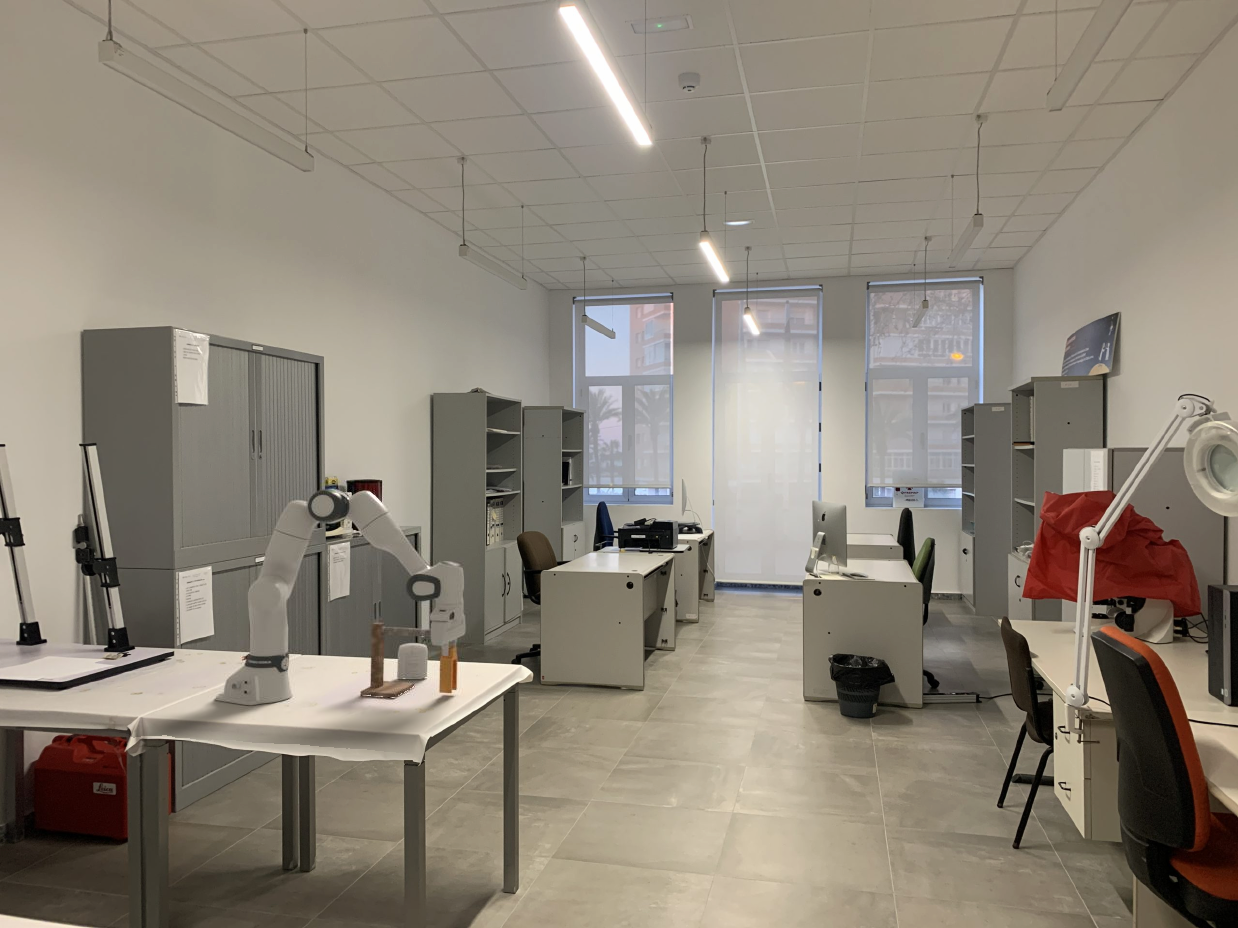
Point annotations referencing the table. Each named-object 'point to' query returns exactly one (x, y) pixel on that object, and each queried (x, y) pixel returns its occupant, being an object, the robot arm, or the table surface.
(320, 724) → the table surface
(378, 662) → the stand
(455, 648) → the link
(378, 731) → the table surface
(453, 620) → the robot arm
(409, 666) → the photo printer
